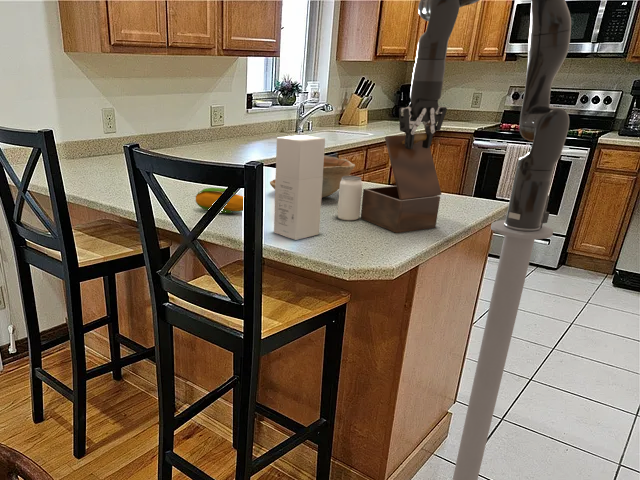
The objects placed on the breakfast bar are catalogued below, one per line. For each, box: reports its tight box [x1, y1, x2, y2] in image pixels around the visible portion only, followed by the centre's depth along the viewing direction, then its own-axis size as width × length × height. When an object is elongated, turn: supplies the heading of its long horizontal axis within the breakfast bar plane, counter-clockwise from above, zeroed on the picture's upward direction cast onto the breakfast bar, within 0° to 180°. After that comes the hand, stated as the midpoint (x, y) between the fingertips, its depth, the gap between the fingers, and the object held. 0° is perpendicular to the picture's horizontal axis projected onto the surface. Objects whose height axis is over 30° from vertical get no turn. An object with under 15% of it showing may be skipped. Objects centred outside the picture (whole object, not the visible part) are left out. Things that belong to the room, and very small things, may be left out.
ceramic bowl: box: [269, 155, 356, 199], centre depth 181 cm, size 30×27×15 cm
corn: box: [194, 187, 244, 214], centre depth 161 cm, size 7×8×20 cm
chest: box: [360, 185, 441, 234], centre depth 150 cm, size 17×14×9 cm
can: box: [337, 175, 363, 222], centre depth 154 cm, size 6×6×12 cm
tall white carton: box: [273, 134, 326, 241], centre depth 137 cm, size 9×9×25 cm
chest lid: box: [384, 132, 442, 200], centre depth 140 cm, size 18×14×5 cm
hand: (417, 148), depth 139 cm, fingers closed on chest lid, 5 cm apart
